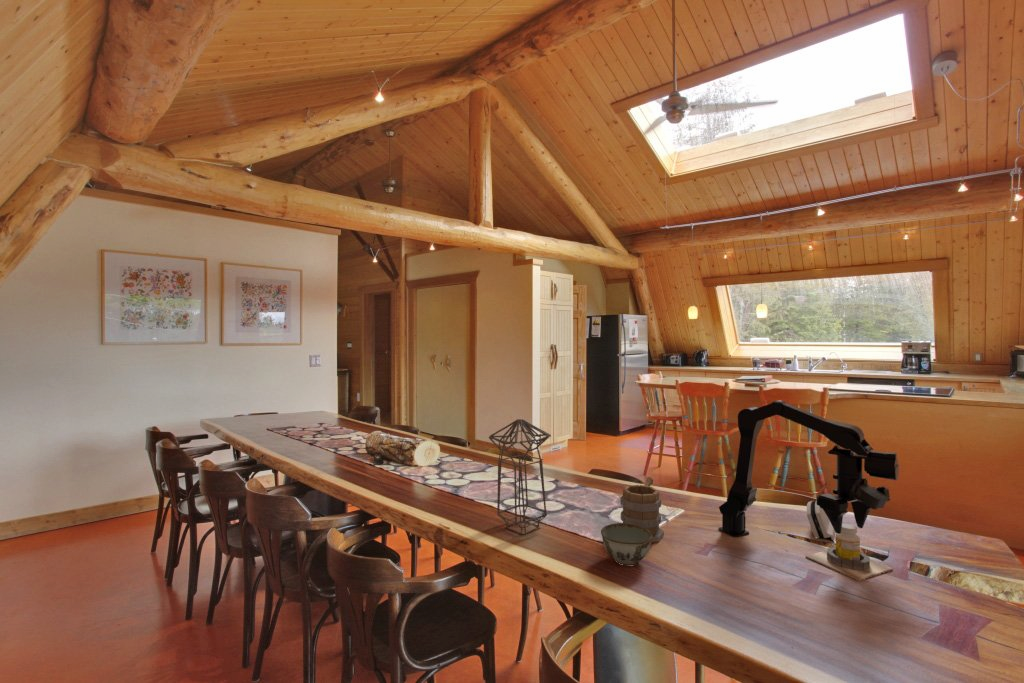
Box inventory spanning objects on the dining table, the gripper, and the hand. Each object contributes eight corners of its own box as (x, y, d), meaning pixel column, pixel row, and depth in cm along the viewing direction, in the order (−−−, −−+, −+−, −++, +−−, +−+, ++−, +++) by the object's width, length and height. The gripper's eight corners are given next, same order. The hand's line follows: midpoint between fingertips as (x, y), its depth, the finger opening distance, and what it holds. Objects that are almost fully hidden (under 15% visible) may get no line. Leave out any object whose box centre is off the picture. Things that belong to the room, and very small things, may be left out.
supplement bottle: (858, 568, 128) (858, 531, 128) (834, 562, 131) (834, 526, 131) (860, 561, 132) (860, 525, 132) (837, 555, 135) (837, 521, 135)
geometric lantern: (520, 542, 145) (517, 425, 145) (488, 528, 157) (485, 419, 157) (557, 527, 156) (554, 418, 156) (523, 515, 167) (521, 413, 167)
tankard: (655, 546, 142) (655, 495, 142) (614, 537, 149) (614, 488, 149) (672, 524, 159) (672, 478, 159) (634, 516, 166) (634, 472, 166)
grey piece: (834, 542, 145) (821, 508, 147) (817, 543, 148) (804, 510, 150) (837, 524, 159) (825, 493, 160) (821, 526, 161) (809, 496, 163)
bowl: (653, 554, 137) (653, 526, 137) (650, 576, 124) (650, 545, 124) (604, 547, 142) (604, 520, 142) (597, 568, 129) (597, 538, 129)
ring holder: (858, 580, 122) (858, 571, 122) (805, 557, 135) (805, 548, 135) (892, 570, 128) (892, 560, 128) (838, 548, 141) (838, 540, 141)
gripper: (858, 485, 120) (858, 548, 120) (904, 476, 127) (903, 535, 127) (815, 473, 130) (814, 531, 130) (859, 466, 138) (859, 521, 138)
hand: (849, 530), depth 131 cm, fingers open, 9 cm apart
